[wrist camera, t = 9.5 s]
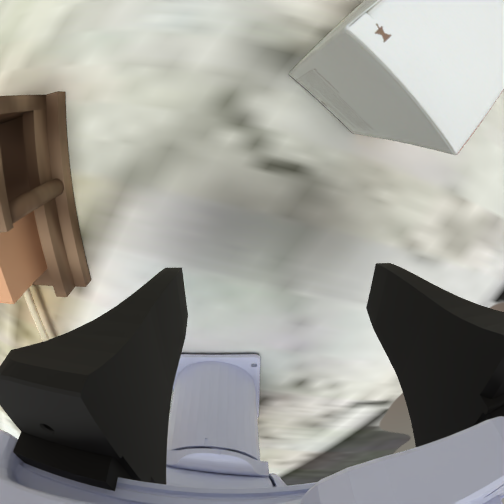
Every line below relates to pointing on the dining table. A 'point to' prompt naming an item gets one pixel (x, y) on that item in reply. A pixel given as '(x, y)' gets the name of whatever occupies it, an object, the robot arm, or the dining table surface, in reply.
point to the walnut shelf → (41, 184)
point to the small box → (411, 69)
